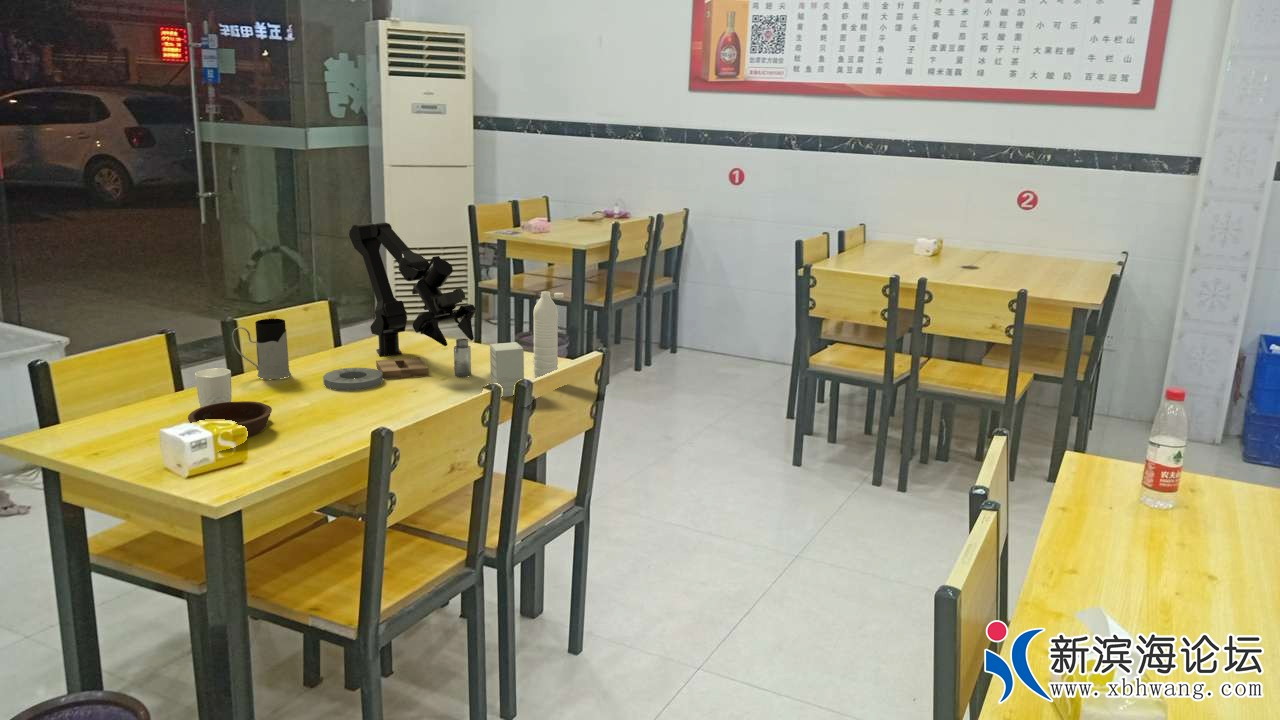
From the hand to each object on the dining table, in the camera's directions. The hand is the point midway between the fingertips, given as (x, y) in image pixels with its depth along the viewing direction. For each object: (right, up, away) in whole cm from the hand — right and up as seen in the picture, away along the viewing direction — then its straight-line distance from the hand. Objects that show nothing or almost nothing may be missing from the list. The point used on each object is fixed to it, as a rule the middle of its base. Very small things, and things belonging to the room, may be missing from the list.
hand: (459, 342), depth 279 cm
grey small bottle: (+1, -9, +2) cm, 9 cm away
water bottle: (+25, -11, -4) cm, 28 cm away
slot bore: (-17, -8, +4) cm, 19 cm away
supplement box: (+15, -13, -13) cm, 24 cm away
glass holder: (-52, -9, -4) cm, 53 cm away
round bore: (-27, -11, -8) cm, 30 cm away
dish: (-43, -21, -48) cm, 68 cm away
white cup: (-52, -18, -35) cm, 65 cm away
